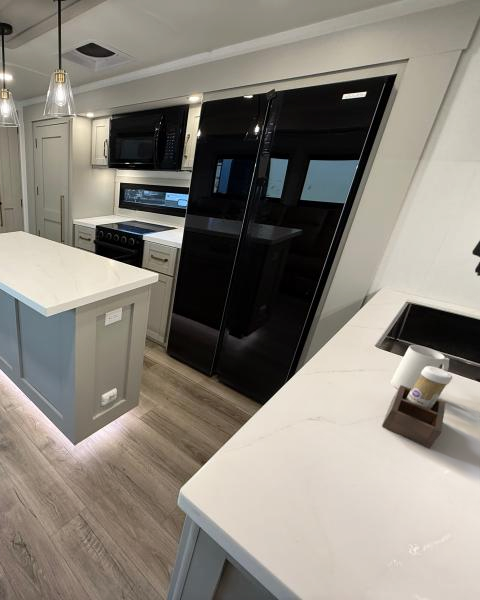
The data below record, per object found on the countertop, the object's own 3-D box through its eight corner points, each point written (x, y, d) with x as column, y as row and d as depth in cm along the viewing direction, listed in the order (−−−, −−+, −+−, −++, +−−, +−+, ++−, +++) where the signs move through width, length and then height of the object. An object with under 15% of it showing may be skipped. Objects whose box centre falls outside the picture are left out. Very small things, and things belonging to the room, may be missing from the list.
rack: (435, 418, 76) (445, 402, 74) (429, 449, 67) (441, 432, 65) (391, 399, 82) (400, 384, 80) (381, 426, 73) (391, 410, 71)
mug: (400, 393, 84) (421, 356, 80) (383, 378, 91) (402, 343, 86) (443, 400, 83) (468, 363, 78) (423, 384, 89) (445, 349, 84)
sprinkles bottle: (393, 410, 78) (419, 366, 73) (406, 407, 79) (433, 364, 74) (415, 423, 74) (444, 378, 69) (428, 421, 75) (458, 376, 70)
